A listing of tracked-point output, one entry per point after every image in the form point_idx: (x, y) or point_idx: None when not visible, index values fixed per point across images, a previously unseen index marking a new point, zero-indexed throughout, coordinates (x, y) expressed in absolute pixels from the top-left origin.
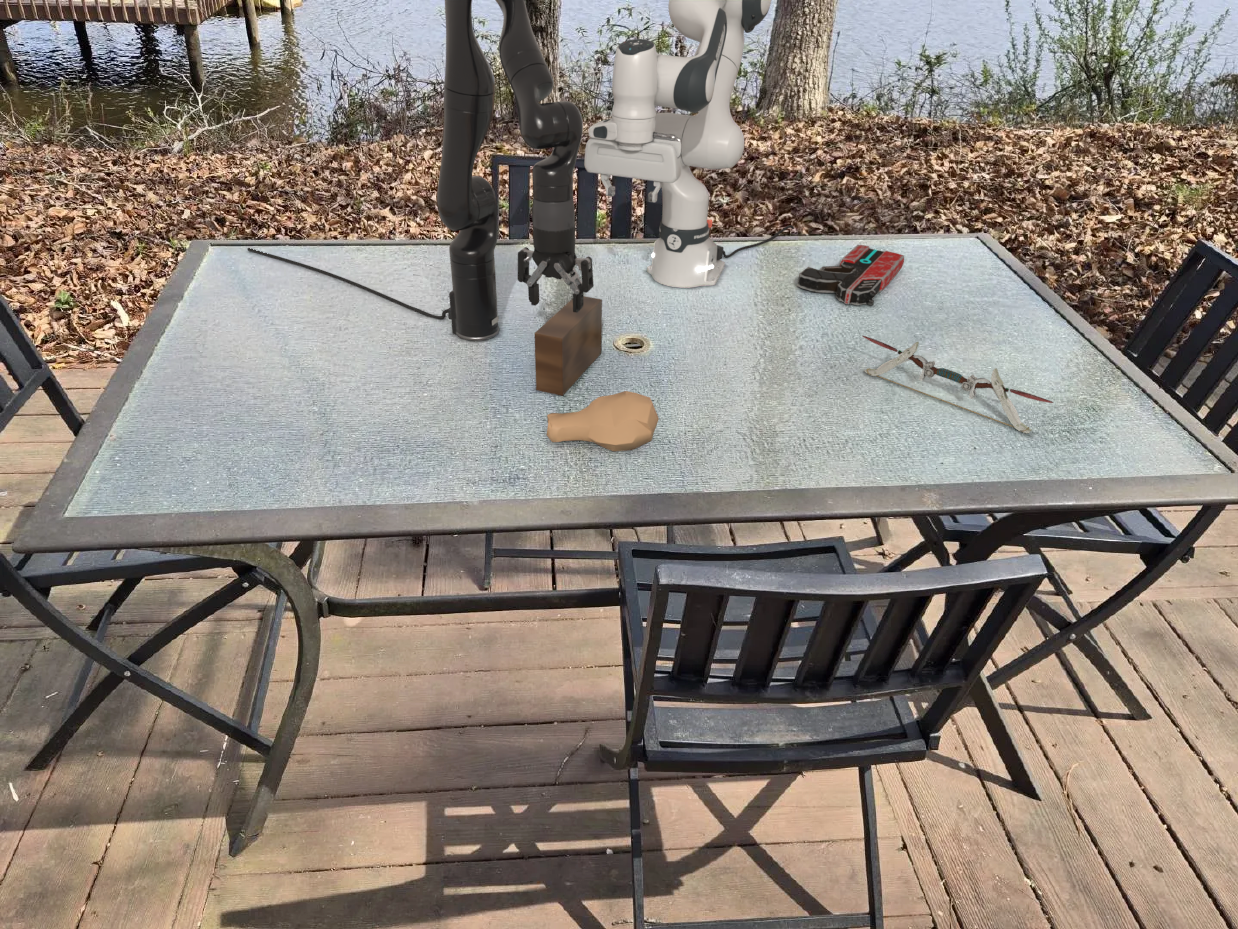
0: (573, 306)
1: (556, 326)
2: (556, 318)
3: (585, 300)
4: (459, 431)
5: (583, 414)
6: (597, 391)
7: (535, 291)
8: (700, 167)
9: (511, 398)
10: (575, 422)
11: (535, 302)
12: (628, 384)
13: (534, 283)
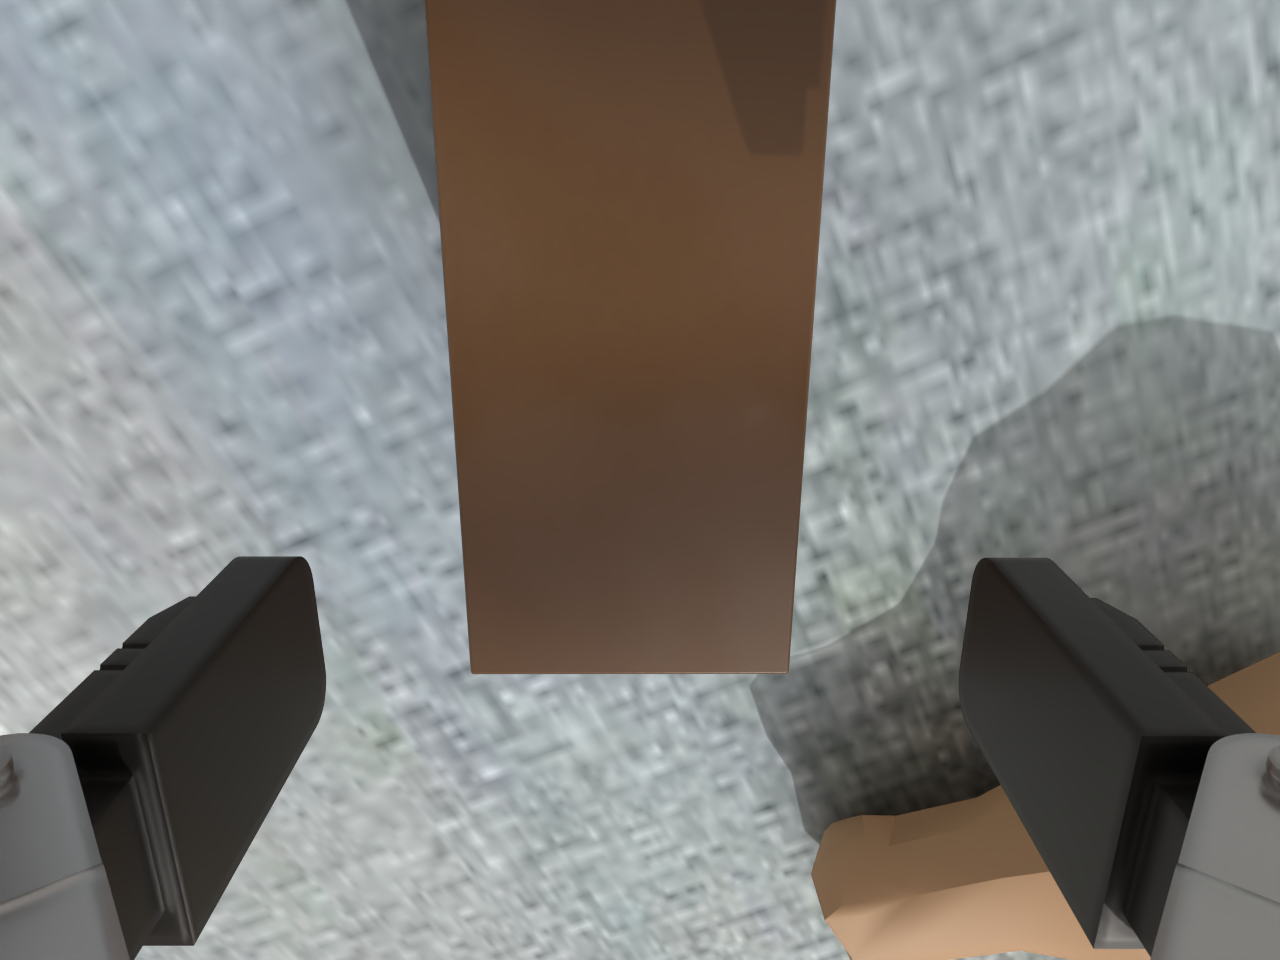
0: (1001, 767)
1: (613, 441)
2: (512, 232)
3: None
4: (393, 937)
5: (1055, 934)
6: (916, 311)
7: (228, 808)
8: None
9: (450, 594)
10: (1006, 946)
11: (308, 699)
12: (1104, 123)
13: (125, 940)
